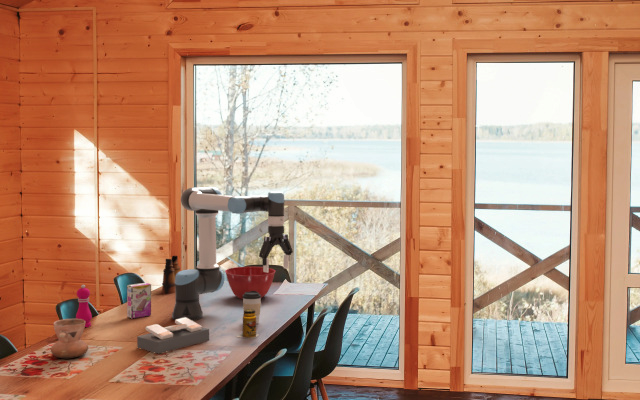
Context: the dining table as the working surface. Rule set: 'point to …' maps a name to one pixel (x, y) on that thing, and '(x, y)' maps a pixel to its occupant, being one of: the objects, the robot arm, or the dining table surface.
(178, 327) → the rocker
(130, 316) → the candy bar box
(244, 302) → the coffee cup
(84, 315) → the pepper mill
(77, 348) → the ceramic jug
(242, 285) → the mixing bowl
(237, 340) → the dining table surface
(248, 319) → the condiment
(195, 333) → the power strip
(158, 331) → the rocker
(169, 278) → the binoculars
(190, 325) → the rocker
